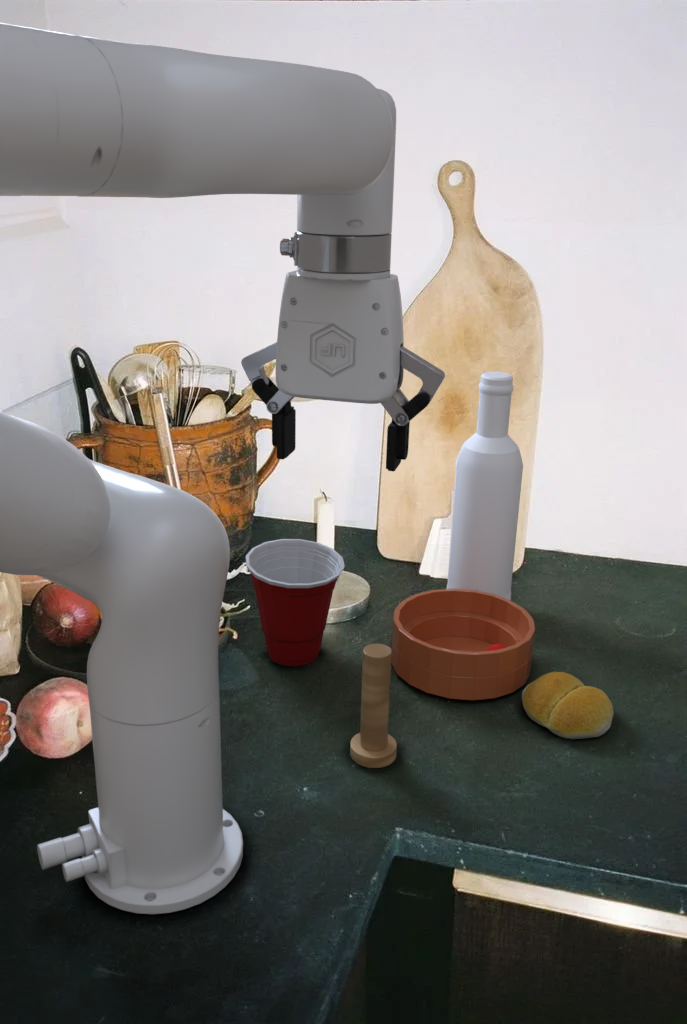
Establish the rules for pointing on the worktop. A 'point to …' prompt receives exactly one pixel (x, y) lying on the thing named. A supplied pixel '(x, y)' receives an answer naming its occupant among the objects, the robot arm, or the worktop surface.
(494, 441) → the bottle
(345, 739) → the worktop surface
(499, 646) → the tomato
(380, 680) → the muddler
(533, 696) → the bread roll
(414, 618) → the bowl
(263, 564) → the plastic cup
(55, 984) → the worktop surface
